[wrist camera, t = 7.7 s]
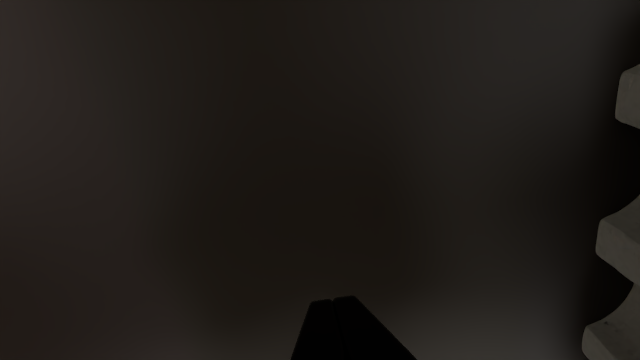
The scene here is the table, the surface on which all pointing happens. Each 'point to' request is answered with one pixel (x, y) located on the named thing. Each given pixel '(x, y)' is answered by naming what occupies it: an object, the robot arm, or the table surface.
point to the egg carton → (620, 253)
